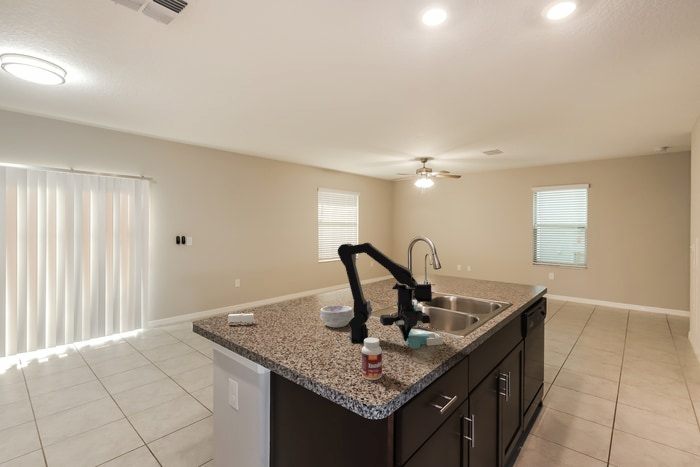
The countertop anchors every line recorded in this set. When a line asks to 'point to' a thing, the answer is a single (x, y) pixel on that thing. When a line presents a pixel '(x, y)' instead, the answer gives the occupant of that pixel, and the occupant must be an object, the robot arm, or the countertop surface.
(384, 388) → the countertop surface
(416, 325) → the light bulb box
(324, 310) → the paper bowls
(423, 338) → the t block
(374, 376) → the pill bottle
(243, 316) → the napkin holder
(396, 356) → the countertop surface
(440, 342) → the t dock
